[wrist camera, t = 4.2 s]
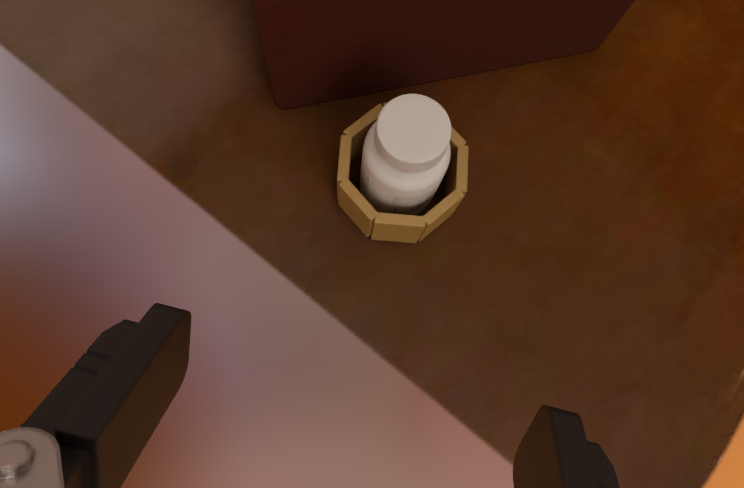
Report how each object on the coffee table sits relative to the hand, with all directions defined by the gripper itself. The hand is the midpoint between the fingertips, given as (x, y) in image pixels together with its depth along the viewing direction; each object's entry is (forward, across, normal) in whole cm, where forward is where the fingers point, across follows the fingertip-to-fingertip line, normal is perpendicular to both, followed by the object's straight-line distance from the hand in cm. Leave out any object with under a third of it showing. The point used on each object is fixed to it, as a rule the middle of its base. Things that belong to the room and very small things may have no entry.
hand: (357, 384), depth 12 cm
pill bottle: (+21, 0, +5) cm, 21 cm away
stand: (+21, 0, +4) cm, 21 cm away
